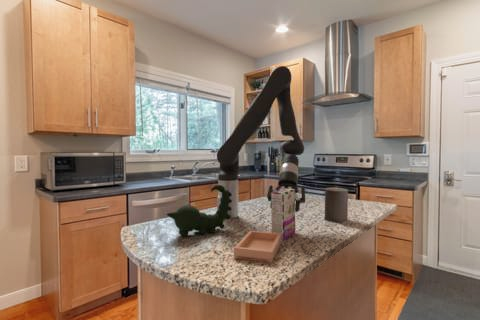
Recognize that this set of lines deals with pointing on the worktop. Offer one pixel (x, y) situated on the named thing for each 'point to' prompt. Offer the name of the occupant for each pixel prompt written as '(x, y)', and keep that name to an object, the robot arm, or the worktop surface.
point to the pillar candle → (336, 204)
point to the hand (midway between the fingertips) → (284, 210)
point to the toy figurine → (202, 216)
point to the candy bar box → (283, 212)
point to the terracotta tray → (258, 246)
